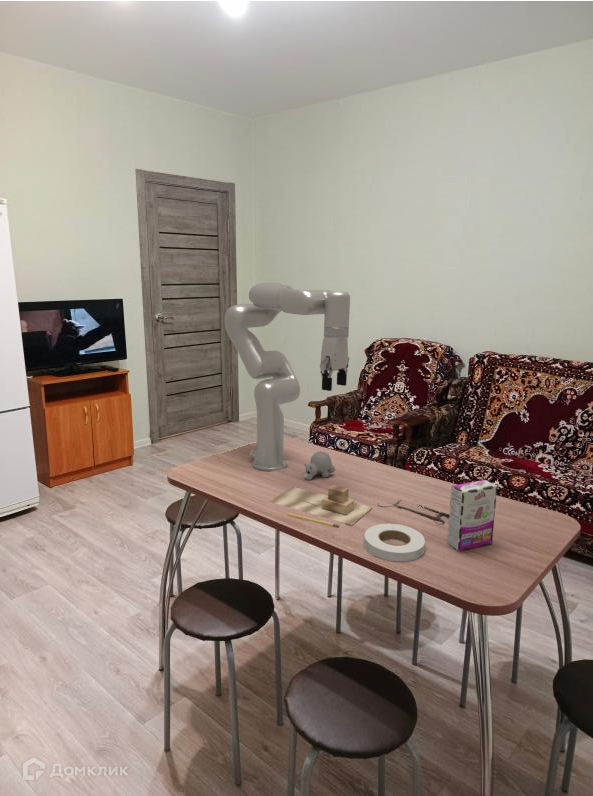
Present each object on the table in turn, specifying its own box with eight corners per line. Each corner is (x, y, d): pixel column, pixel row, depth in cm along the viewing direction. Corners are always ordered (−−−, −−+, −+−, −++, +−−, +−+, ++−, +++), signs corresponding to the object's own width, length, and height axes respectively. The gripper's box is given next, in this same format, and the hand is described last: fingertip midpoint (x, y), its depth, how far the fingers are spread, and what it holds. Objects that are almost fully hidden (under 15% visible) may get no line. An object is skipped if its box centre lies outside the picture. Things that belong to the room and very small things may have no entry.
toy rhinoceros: (300, 483, 187) (293, 464, 184) (325, 464, 193) (318, 445, 189) (314, 490, 182) (307, 469, 178) (339, 470, 187) (332, 450, 184)
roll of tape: (432, 562, 133) (432, 551, 133) (369, 563, 133) (370, 552, 132) (415, 532, 148) (415, 523, 148) (359, 533, 148) (359, 523, 147)
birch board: (268, 502, 165) (268, 501, 165) (293, 487, 177) (293, 486, 177) (351, 526, 151) (351, 524, 151) (372, 508, 162) (372, 507, 162)
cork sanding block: (321, 508, 161) (322, 488, 159) (329, 503, 165) (330, 482, 163) (345, 515, 157) (346, 494, 155) (353, 509, 161) (354, 488, 159)
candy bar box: (479, 536, 147) (485, 478, 143) (492, 544, 142) (499, 485, 139) (445, 543, 142) (450, 484, 139) (458, 552, 138) (464, 491, 134)
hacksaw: (463, 522, 155) (464, 517, 155) (444, 533, 149) (444, 528, 148) (394, 496, 172) (395, 492, 172) (374, 505, 166) (374, 501, 165)
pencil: (287, 516, 156) (287, 514, 156) (288, 515, 157) (288, 512, 156) (338, 528, 149) (338, 526, 149) (339, 527, 150) (339, 524, 150)
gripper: (338, 329, 175) (336, 381, 179) (311, 334, 161) (309, 390, 165) (359, 331, 171) (357, 384, 175) (333, 336, 157) (331, 394, 161)
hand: (334, 387), depth 170 cm, fingers open, 9 cm apart
